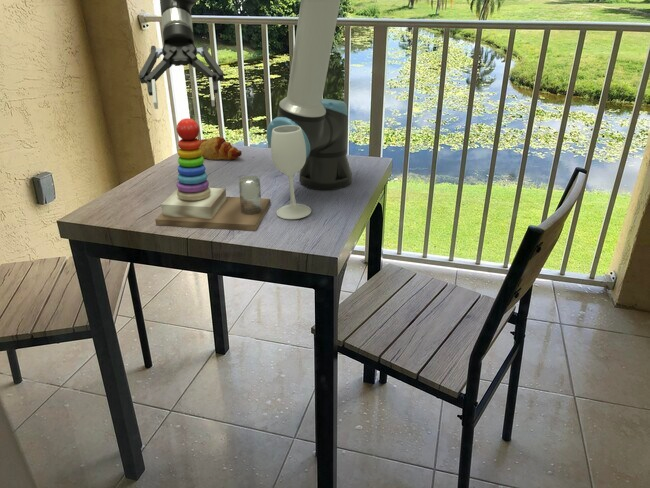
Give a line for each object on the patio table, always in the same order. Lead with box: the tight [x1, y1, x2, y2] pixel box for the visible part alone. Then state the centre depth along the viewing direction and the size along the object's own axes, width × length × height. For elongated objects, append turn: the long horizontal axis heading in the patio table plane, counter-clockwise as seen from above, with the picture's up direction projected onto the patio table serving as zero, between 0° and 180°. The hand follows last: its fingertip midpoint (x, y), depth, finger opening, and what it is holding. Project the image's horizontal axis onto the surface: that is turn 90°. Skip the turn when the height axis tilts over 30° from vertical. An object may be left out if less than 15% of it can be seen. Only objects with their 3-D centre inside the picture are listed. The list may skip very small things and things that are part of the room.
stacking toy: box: [176, 117, 211, 201], centre depth 120 cm, size 8×8×19 cm
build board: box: [155, 187, 272, 232], centre depth 125 cm, size 24×16×4 cm, turn 83°
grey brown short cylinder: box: [238, 175, 262, 215], centre depth 123 cm, size 5×5×8 cm
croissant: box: [199, 136, 243, 161], centre depth 167 cm, size 21×10×8 cm, turn 63°
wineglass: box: [270, 125, 312, 220], centre depth 122 cm, size 9×9×21 cm
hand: (184, 104), depth 124 cm, fingers open, 13 cm apart
